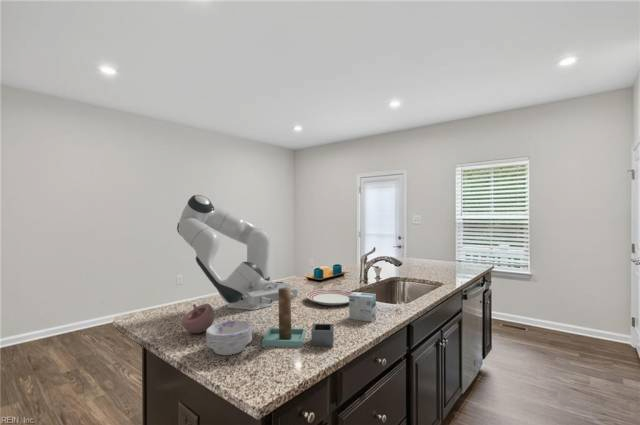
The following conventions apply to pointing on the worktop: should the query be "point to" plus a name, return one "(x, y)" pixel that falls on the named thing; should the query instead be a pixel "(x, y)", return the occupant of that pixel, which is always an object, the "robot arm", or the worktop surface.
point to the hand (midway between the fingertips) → (281, 299)
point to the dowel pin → (284, 313)
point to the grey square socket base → (322, 335)
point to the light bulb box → (362, 306)
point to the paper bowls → (229, 337)
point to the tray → (274, 340)
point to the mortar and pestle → (199, 318)
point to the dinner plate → (329, 296)
